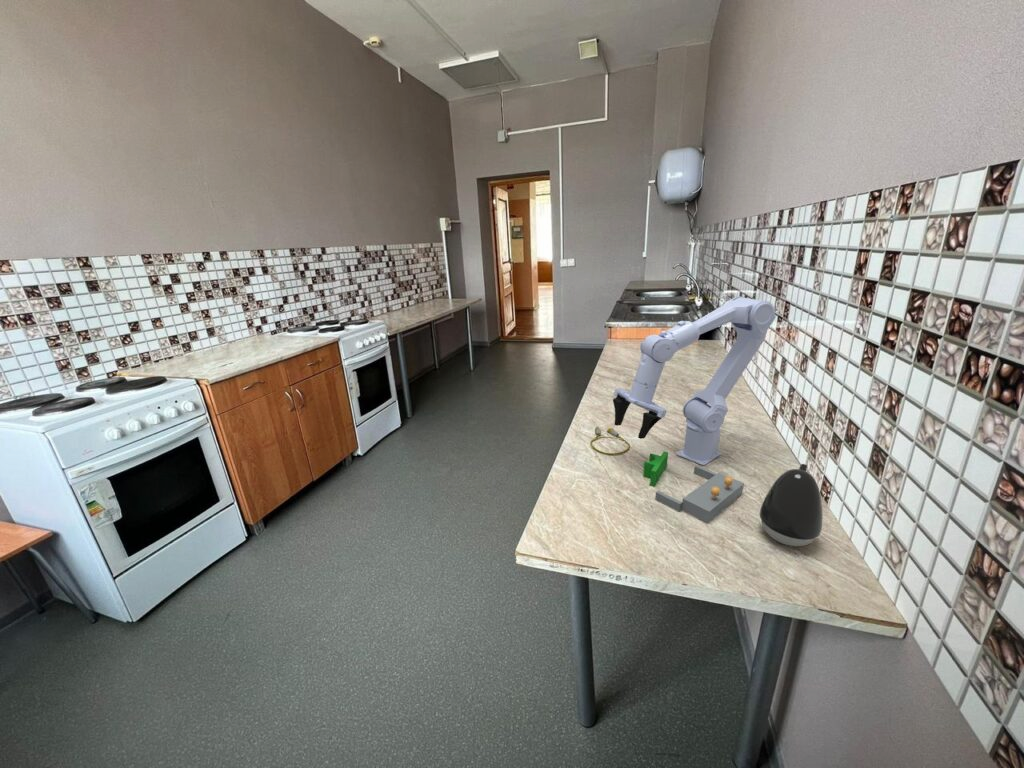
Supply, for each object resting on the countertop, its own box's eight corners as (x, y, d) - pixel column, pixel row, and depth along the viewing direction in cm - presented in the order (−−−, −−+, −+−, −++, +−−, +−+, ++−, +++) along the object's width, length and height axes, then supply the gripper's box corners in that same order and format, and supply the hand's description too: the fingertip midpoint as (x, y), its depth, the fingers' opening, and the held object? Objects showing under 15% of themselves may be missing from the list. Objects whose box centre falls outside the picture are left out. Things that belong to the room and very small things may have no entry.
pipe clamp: (652, 463, 110) (654, 448, 109) (666, 467, 108) (668, 452, 107) (639, 483, 101) (640, 467, 100) (654, 487, 99) (655, 471, 98)
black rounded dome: (820, 533, 82) (837, 468, 77) (812, 563, 75) (831, 493, 70) (763, 513, 89) (775, 451, 84) (750, 538, 81) (764, 473, 76)
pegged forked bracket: (695, 471, 105) (698, 452, 103) (744, 492, 96) (748, 471, 94) (655, 499, 95) (657, 478, 93) (705, 525, 86) (708, 502, 84)
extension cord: (634, 436, 126) (635, 430, 125) (626, 460, 113) (626, 454, 112) (596, 430, 131) (596, 424, 130) (583, 452, 117) (583, 446, 117)
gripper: (613, 372, 104) (598, 420, 108) (662, 393, 94) (644, 445, 98) (629, 372, 109) (614, 418, 113) (677, 393, 99) (659, 442, 103)
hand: (629, 431), depth 106 cm, fingers open, 7 cm apart
